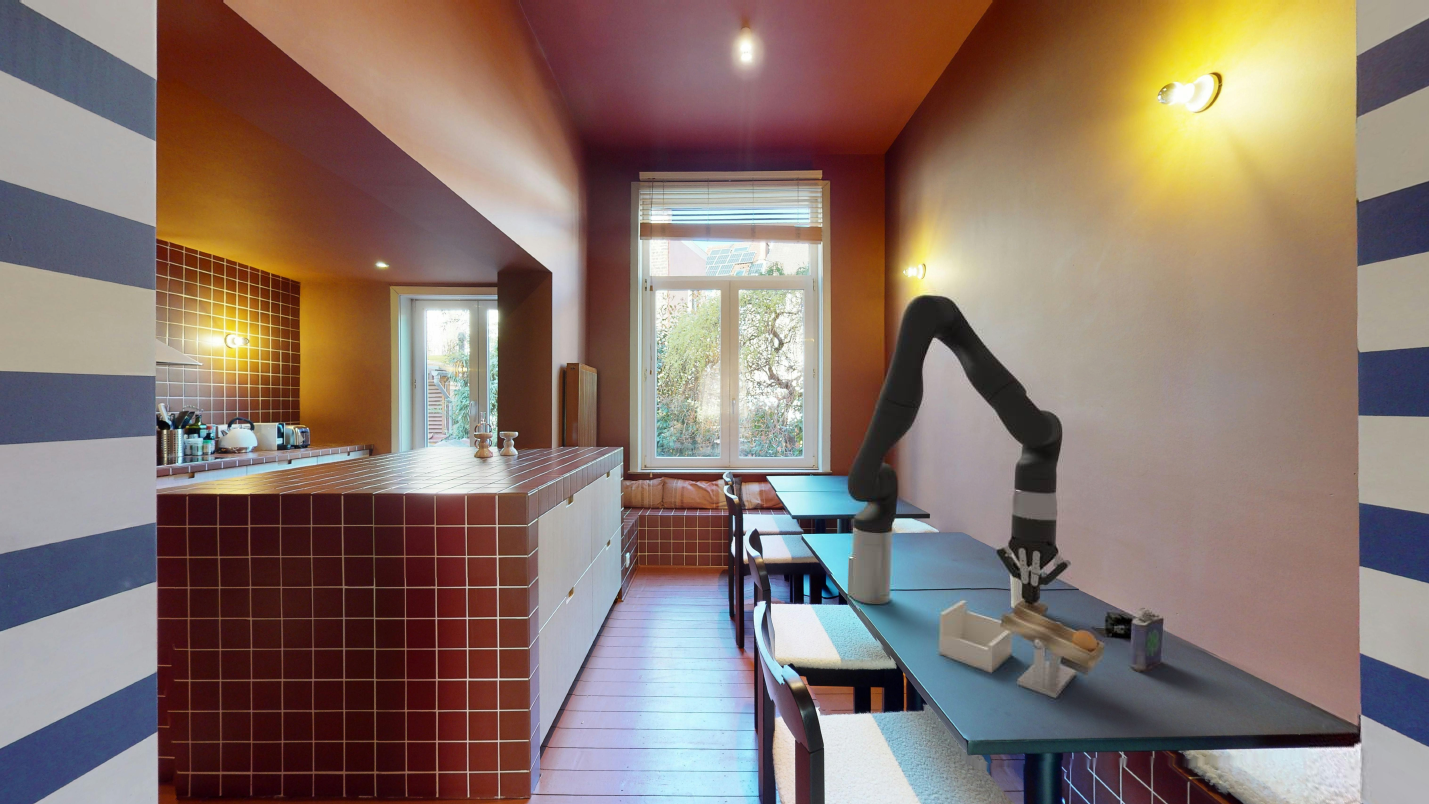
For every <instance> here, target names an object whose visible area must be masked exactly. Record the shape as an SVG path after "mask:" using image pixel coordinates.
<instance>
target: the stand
mask: <svg viewBox="0 0 1429 804" xmlns="http://www.w3.org/2000/svg"><path fill="white" fill-rule="evenodd" d="M1055 622H1056V623H1059V624H1061V625H1063V624H1062V623H1061V622H1059V621H1055ZM1032 645H1033V649H1034V650H1033V664H1032V665H1030V667H1028V668H1027V670H1026V671H1025V672H1023V674H1022V675H1021V676H1020V677H1019V678H1018V679H1017V682H1016V683H1017V685H1019V686H1021V687H1023V688H1026V689H1029V690H1032V691H1035V692H1038V693H1041V694H1043V695H1045V696H1048V697H1051V698H1053V699H1057V698H1058V696H1059V695H1060V694H1061V693H1062V691H1064V689H1065V688H1066V687H1067V685H1068V684H1069V683H1070V682H1071V680H1072V679H1074V677H1075V675H1076V670H1073V669H1071V668H1069V667H1067V666H1065V665H1064V666H1063V665H1061V663H1060V661H1061V657H1062V656H1061V655H1059V654H1057V653H1055V652H1053V651H1051V650H1049V654H1048V655H1049V657H1048V660H1047V649H1046V646H1047V641H1046V640H1043V639H1039V638H1036V639H1035V642H1032Z"/></svg>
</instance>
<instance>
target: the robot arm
mask: <svg viewBox="0 0 1429 804" xmlns="http://www.w3.org/2000/svg"><path fill="white" fill-rule="evenodd" d="M902 314H903V315H902V318H901V322H900V326H899V331H898V335H897V340H896V344H895V349H894V352H893V354H892V358H891V360H890V365H889V367H888V371H887V374H886V376H885V379H884V382H883V385H882V388H881V390H880V392H879V396H878V399H877V402H876V405H875V406H874V407H875V409H874V411H873V414H872V415H873V416H872V418H871V420H870V424H869V426H868V428H867V432H866V434H865V436H864V439H863V441H862V444H861V445H860V448H859V450H858V452H857V454H856V457H855V459H854V461H853V464H852V465H851V468H850V470H849V473H848V475H847V476H848V477H847V482H846V483H847V491H848V493H849V495H850V497H851V498H852V499H853V500H854V501H856V502H859V503H860V502H861V503H866V505H865V507H864V508H863V509H862V510H861V511H859V512H857V513H856V514H855V515H854V516H853V521H852V522H853V524H852V525H853V526H852V527H853V528H852V549H851V550H852V551H851V552H852V555H851V556H849V557H848V569H847V570H848V571H847V572H848V573H847V596H848V597H849V596H850V597H851V598H852V599H853V600H856V601H857V602H860V603H863V604H868V605H884V604H887V603H889V602H890V599H891V598H890V597H891V596H890V594H891V571H892V570H891V569H892V548H893V547H892V546H893V545H892V541H893V524H894V522H895V519H896V517H897V507H898V506H897V505H898V496H899V480H898V476H897V473H896V470H895V469H894V468H893V467H892V466H891V465H890V464H888V463H884V461H885V459H886V458H887V455H888V454H889V452H890V451H891V450H892V448H893V447H894V446H896V444H897V443H898V442H900V440H901V439H902V438H903V437H904V436H905V435H906V434H907V433H908V431H910V429H911V428H912V427H913V425H914V423H915V420H916V418H917V417H918V412H919V411H920V408H921V405H922V401H923V398H924V377H923V376H924V375H923V368H924V363H925V359H926V355H927V354H928V351H929V348H930V346H931V344H932V341H933V339H937V340H938V341H939V342H941V343H942V344H944V346H946V347H947V348H948V349H950V351H951V352H952V353H953V354H954V355H955V356H956V359H958V362H959V363H960V365H961V366H962V367H961V368H962V369H963V372H964V373H965V375H966V377H967V379H968V381H969V383H970V384H971V386H972V387H973V388H974V389H975V390H976V392H977V393H978V394H979V395H980V396H981V397H982V398H983V399H984V401H985V402H986V403H987V404H988V405H989V406H990V407H991V408H992V409H993V410H994V411H995V412H996V414H997V416H998V417H999V419H1000V422H1002V424H1003V426H1004V427H1005V428H1006V430H1007V431H1008V433H1009V434H1010V436H1012V437H1013V438H1014V439H1015V441H1017V442H1018V443H1020V445H1022V446H1021V455H1020V458H1019V460H1018V461H1017V462H1016V464H1015V469H1014V484H1013V485H1014V486H1013V487H1014V488H1013V496H1012V503H1011V507H1012V508H1011V526H1010V527H1011V529H1010V533H1011V537H1010V539H1008V542H1007V545H1005V546H1003V547H1001V548H998V549H997V550H996V552H995V553H996V554H997V556H998V557H999V558H1000V560H1001V562H1002V563H1003V565H1004V566H1005V568H1006V569H1007V571H1008V572H1009V575H1010V574H1011V575H1012V576H1013V577H1014V578H1017V579H1019V580H1020V581H1021V582H1022V599H1025V603H1029V604H1033V605H1034V604H1035V603H1036V602H1039V601H1040V599H1041V587H1042V586H1047V585H1049V584H1050V583H1052V582H1053V581H1054V580H1055V579H1056V578H1058V577H1059V576H1060V575H1061V574H1063V572H1065V571H1066V570H1068V568H1069V567H1071V562H1070V561H1069V560H1067V559H1065V558H1063V557H1062V556H1061V555H1060V554H1059V548H1058V547H1057V543H1056V542H1057V521H1058V520H1057V518H1058V499H1057V478H1058V477H1057V475H1058V474H1057V466H1058V461H1059V459H1060V454H1061V447H1062V442H1063V425H1062V422H1061V420H1060V418H1059V417H1058V416H1057V415H1056V414H1054V413H1053V412H1051V411H1048V410H1043V409H1040V408H1039V407H1038V406H1037V405H1036V404H1035V403H1034V402H1033V400H1031V399H1030V398H1029V397H1028V396H1027V395H1028V394H1027V390H1026V388H1025V386H1024V385H1023V384H1022V383H1021V382H1020V381H1019V380H1018V379H1017V378H1016V376H1014V375H1013V374H1012V373H1011V371H1009V370H1008V368H1006V367H1005V365H1003V364H1002V363H1001V361H1000V360H999V359H998V358H997V357H996V356H995V355H994V354H993V353H992V351H991V350H990V349H989V348H988V347H987V345H985V343H984V341H982V340H981V338H980V337H979V336H978V334H977V332H976V331H975V330H974V329H973V327H972V326H971V325H970V323H969V322H968V320H967V318H966V317H965V316H964V314H963V312H962V311H961V309H960V308H959V307H958V306H957V303H955V302H954V300H952V299H951V298H949V297H947V296H943V295H934V294H933V295H931V294H921V295H918V296H916V297H914V298H913V299H912V300H910V301H909V302H908V303H907V304H906V307H905V309H904V312H903V313H902ZM1012 552H1013V554H1014V556H1015V557H1016V559H1017V560H1018V561H1019V562H1020V568H1019V566H1018V565H1017V563H1016V562H1015V561H1014V559H1013V558H1012ZM1053 560H1054V562H1053ZM1051 562H1053V567H1054V568H1053V569H1052V570H1051V571H1050V572H1049V573H1048V574H1046V575H1045V576H1043V575H1044V571H1045V570H1044V569H1045V567H1046V566H1048V565H1049V564H1050V563H1051Z"/></svg>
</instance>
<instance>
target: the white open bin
mask: <svg viewBox="0 0 1429 804" xmlns="http://www.w3.org/2000/svg"><path fill="white" fill-rule="evenodd" d="M967 603H968V602H967V600H960V601H959V602H957V603H955V604H953V605H952V606H950V607H949V608H947V609H945V610H943V611H941V612H940V613H939V615H940V616H939V637H938V638H939V641H938V654H939V655H941V656H944V657H946V658H949V659H952V660H955V661H957V662H961V663H963V664H965V665H968V666H971V667H974V668H977V669H979V670H982V671H985V672H987V673H991V674H992V673H993V672H994V671H996V670H997V669H998V668H999V667H1000V666H1001V665H1002V664H1003V663H1005V662H1006V661H1007V660H1008V659H1009V658H1010V657H1011V656H1012V655H1013V634H1014V633H1012V632H1010V631H1008V630H1006V629H1004V628H1002V627H1000V624H1001V620H998V619H995V618H991V617H988V616H984V615H981V614H978V613H976V612H971V611H969V610H967Z"/></svg>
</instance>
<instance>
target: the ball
mask: <svg viewBox="0 0 1429 804" xmlns="http://www.w3.org/2000/svg"><path fill="white" fill-rule="evenodd" d="M1076 631H1077V632H1076V633H1074V635H1073V643H1074V645H1076V646H1078V647H1080V648H1082V649H1085V650H1087V651H1089V652H1092V651H1093V650H1094V649H1095V648H1096V646H1097V641H1096V640H1097V639H1096V638H1095V635H1093V633H1092V632H1089V631H1087V630H1083V629H1082V630H1076Z"/></svg>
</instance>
